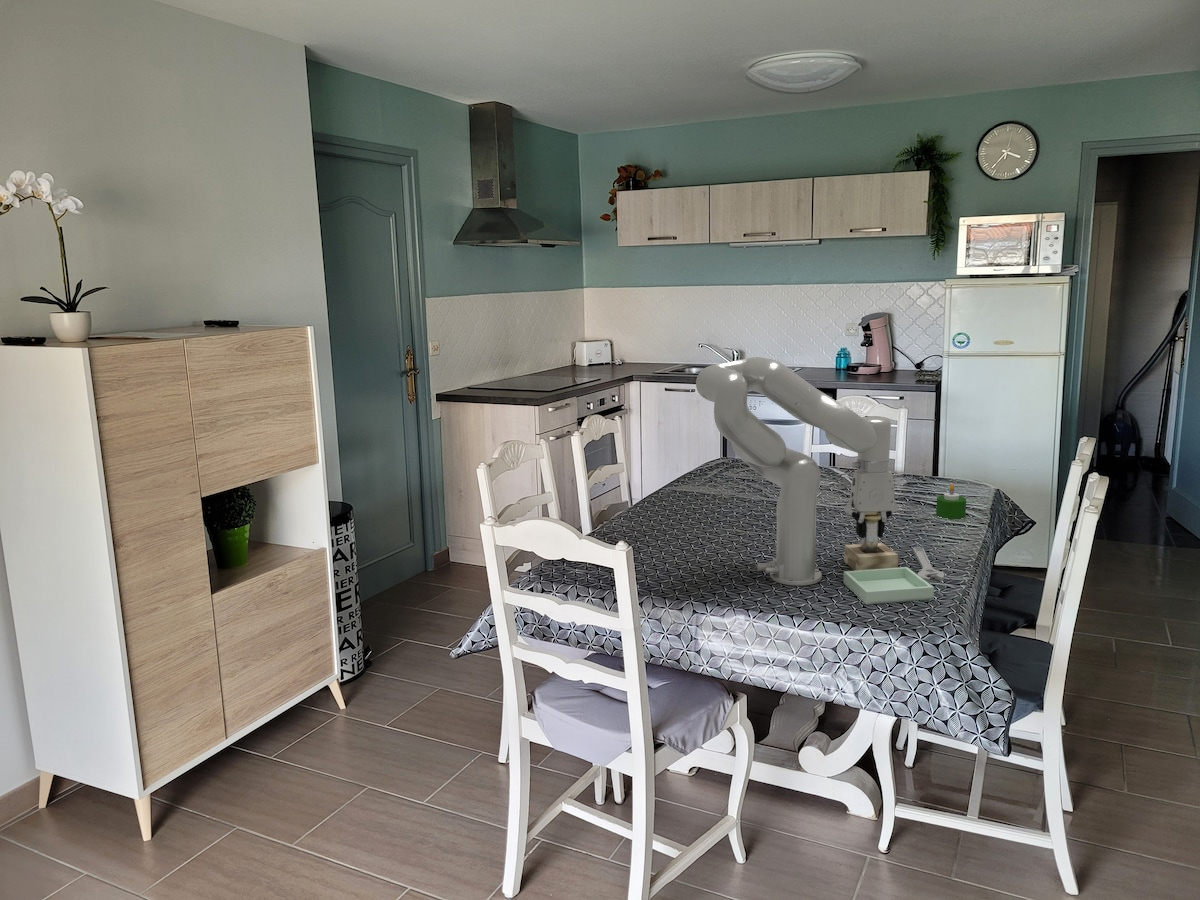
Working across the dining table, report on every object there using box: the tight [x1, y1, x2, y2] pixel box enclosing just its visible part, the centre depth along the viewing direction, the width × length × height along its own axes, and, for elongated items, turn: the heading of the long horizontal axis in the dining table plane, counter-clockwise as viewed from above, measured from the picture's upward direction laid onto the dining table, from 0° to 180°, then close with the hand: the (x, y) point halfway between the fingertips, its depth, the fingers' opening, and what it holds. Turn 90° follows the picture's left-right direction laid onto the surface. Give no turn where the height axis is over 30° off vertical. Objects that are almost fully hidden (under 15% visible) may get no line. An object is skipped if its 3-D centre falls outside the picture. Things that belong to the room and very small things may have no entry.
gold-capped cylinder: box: [860, 512, 882, 554], centre depth 223 cm, size 5×5×11 cm
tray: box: [842, 566, 935, 605], centre depth 208 cm, size 16×14×3 cm
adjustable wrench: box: [912, 546, 946, 584], centre depth 224 cm, size 25×6×2 cm, turn 164°
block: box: [843, 542, 899, 571], centre depth 224 cm, size 10×10×4 cm
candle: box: [935, 483, 967, 520], centre depth 265 cm, size 8×8×10 cm
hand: (869, 535), depth 223 cm, fingers closed on gold-capped cylinder, 4 cm apart
